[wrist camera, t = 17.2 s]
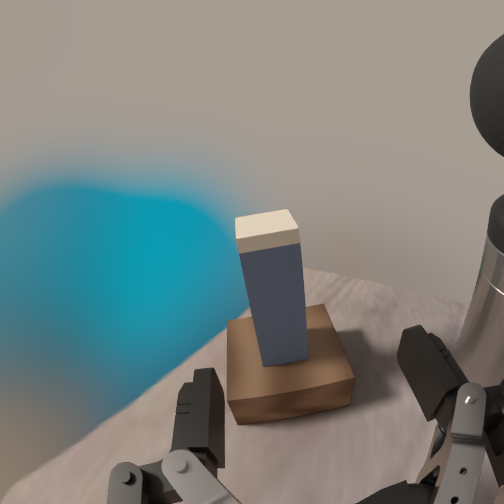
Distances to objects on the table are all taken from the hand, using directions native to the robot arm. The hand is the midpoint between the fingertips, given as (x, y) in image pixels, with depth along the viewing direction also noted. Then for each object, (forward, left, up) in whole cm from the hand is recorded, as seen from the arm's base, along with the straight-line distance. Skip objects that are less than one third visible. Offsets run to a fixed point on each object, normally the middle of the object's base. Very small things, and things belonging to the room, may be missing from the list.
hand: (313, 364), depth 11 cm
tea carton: (+1, -14, -13) cm, 19 cm away
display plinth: (+1, -14, -18) cm, 23 cm away
